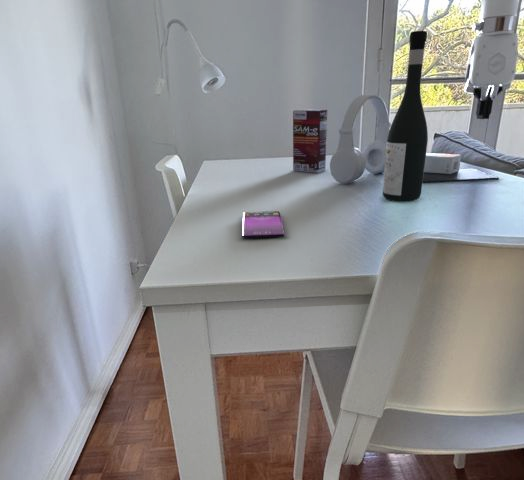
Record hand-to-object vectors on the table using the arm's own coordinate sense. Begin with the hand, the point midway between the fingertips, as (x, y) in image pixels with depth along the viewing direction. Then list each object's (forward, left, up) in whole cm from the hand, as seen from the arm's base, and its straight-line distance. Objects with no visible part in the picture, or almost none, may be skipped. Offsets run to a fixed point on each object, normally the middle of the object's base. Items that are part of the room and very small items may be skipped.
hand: (482, 118), depth 115 cm
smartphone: (+57, +39, -13) cm, 70 cm away
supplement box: (+40, -19, -13) cm, 46 cm away
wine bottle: (+26, +22, -13) cm, 36 cm away
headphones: (+28, -4, -13) cm, 31 cm away
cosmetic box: (+4, -2, -11) cm, 11 cm away
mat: (+8, 0, -13) cm, 15 cm away
